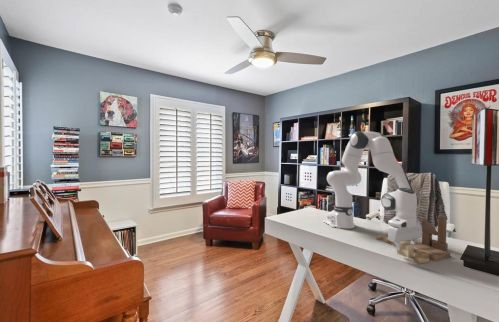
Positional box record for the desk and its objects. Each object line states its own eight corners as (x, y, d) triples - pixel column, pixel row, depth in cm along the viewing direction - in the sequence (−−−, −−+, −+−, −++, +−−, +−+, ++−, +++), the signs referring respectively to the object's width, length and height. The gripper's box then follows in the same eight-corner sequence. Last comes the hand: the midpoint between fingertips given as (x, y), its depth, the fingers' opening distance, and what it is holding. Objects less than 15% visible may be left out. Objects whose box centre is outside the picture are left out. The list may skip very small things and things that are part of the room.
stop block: (414, 261, 115) (414, 252, 115) (422, 258, 117) (422, 250, 117) (420, 263, 112) (420, 255, 112) (429, 261, 114) (429, 253, 114)
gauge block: (396, 253, 124) (396, 241, 124) (402, 252, 126) (402, 240, 126) (408, 257, 119) (408, 245, 119) (413, 256, 120) (414, 244, 120)
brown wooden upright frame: (424, 243, 138) (425, 211, 137) (447, 250, 128) (448, 216, 128) (421, 244, 136) (422, 212, 135) (444, 251, 126) (445, 216, 126)
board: (376, 239, 145) (376, 235, 145) (391, 236, 149) (391, 233, 149) (434, 260, 115) (434, 256, 115) (450, 257, 120) (450, 253, 120)
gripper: (413, 217, 129) (413, 243, 129) (385, 221, 121) (385, 249, 121) (426, 220, 123) (425, 247, 123) (397, 225, 115) (397, 254, 115)
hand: (405, 248), depth 122 cm, fingers open, 8 cm apart
